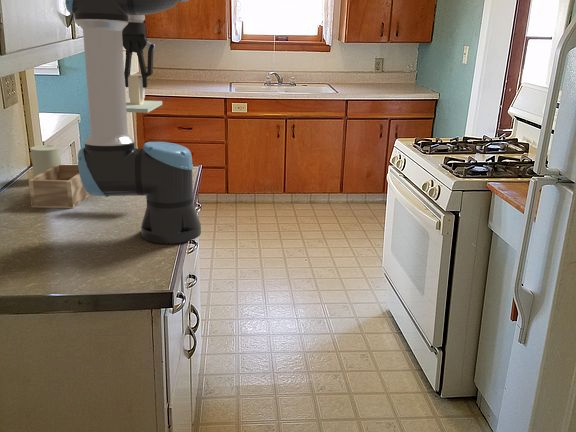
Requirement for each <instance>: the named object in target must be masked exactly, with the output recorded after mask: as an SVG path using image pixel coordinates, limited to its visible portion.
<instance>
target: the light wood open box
mask: <svg viewBox="0 0 576 432" xmlns="http://www.w3.org/2000/svg"><path fill="white" fill-rule="evenodd" d="M27 181H28V189H29V195H30V205H31V208H42V209H43V208H46V209H47V208H51V209H75V207H77V206H79V205H80V203H82V202H83V201H84V200H85V199H87V198H88V197H89V196H90V195H91V194H89V193H88V192H87V191H86V190H85V188H84V186H83V184H82V181H81V178H80V174H79V168H78V164H61V165H55V166H53V167H51V168H49V169H48V170H46V171H44V172H42V173H41V174H39V175H37V176H35V177H34V176H33V177H31V178H30V179H28V180H27Z"/></svg>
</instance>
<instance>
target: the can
mask: <svg viewBox="0 0 576 432" xmlns="http://www.w3.org/2000/svg"><path fill="white" fill-rule="evenodd" d="M30 155H31V156H30V157H31V162H32V163H31V164H32V172H33V178H34V177H35V176H37V175H39V174H41V173H42V172H44V171H46V170H48V169H49V168H51V167H53V166H55V165H62V159H61V158H62V157H61V156H62V155H61V147H60V146H59V145H55V144H42V145H41V144H39V145H34V146H31V147H30Z"/></svg>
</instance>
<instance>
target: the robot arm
mask: <svg viewBox="0 0 576 432" xmlns="http://www.w3.org/2000/svg"><path fill="white" fill-rule="evenodd" d="M189 1H190V0H64V2H65V3H64V4H65V8H66V11H67V12H68V13H70V14H72V15H74V22H75V23H76V24H77V25H78V26H79V27H80V28H81V29H82V35H83V38H82V39H83V49H84V50H83V51H84V63H85V76H86V77H85V78H86V89H87V101H88V102H87V103H88V105H87V106H88V115H89V118H88V119H89V129H90V134H89V136H88V138H86V139H85V140H84V147H82V148H81V149H79V150H78V153H77V160H78V161H77V165H78V168H79V174H80V178H81V181H82V184H83V186H84V188H85V190H86V191H87V192H88V193H89V194H90V195H91V196H97V197H99V196H100V197H106V198H108V197H122V196H123V197H125V196H127V197H128V196H129V197H130V196H133V197H134V196H145V198H146V208H145V212H144V215H143V218H142V223H141V226H140V233H141V238H142V239H144V240H145V241H148V242H151V243H153V244H154V243H155V244H162V243H164V244H167V245H169V244H171V245H172V244H181V243H186V242H190V241H192V240H193V241H194V240H195V239H197V238H199V237H200V236H201V234H202V226H201V225H202V223H201V221H200V218H199V215H198V213H197V210H196V207H195V205H194V184H193V182H194V181H193V169H194V165H193V157H192V152H191V150H190V149H189V148H188V147H186V146H184V145H181V144H178V143H173V142H167V141H147V142H145V143H143V146H142V148H136V146H135V145H136V144H135V139H134V138H132V137H131V136H130V134H129V131H128V129H129V128H128V117H127V115H128V114H127V113H128V112H127V111H126V100H127V97H126V88H128V99H130V91H129V75H131V69H132V67H131V66H132V58H133V57H132V56H133V53H136V55H137V59H138V63H139V64H138V65H139V69H140V75H142V76H141V78H140V96H141V98H142V99H143V98H144V99H145V98H146V91H145V89H146V88H148V77H150V76H153V72H154V51H155V49H156V44H155V43H151V42H149V41H148V38H147V35H146V32H147V31H146V30H147V29H146V23H145V22H144V21H145V20H146V16H148V15H153V14H157V13H162V12H164V11H167V10H171V9H172V8H173V7H175V6H177V4H178V3H182V2H189ZM145 15H146V16H145ZM145 48H146V49H147V68H146V64H145V62H146V61H145V56H144V49H145ZM124 50H125V57H124ZM124 58H125V59H124ZM168 243H169V244H168Z"/></svg>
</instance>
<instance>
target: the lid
mask: <svg viewBox="0 0 576 432" xmlns="http://www.w3.org/2000/svg"><path fill="white" fill-rule="evenodd" d="M141 76H142V75H141V74H130V75H129V89H128V92H129V91H130V98H129V99H126V111H127V113H138V114H140V113H141V114H142V113H145V114H148V113H151V112H152V111H153V110H155V109H157V108H159V107H160V106H163V100H145V98H143V99H142V98H141V96H140V78H141Z"/></svg>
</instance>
